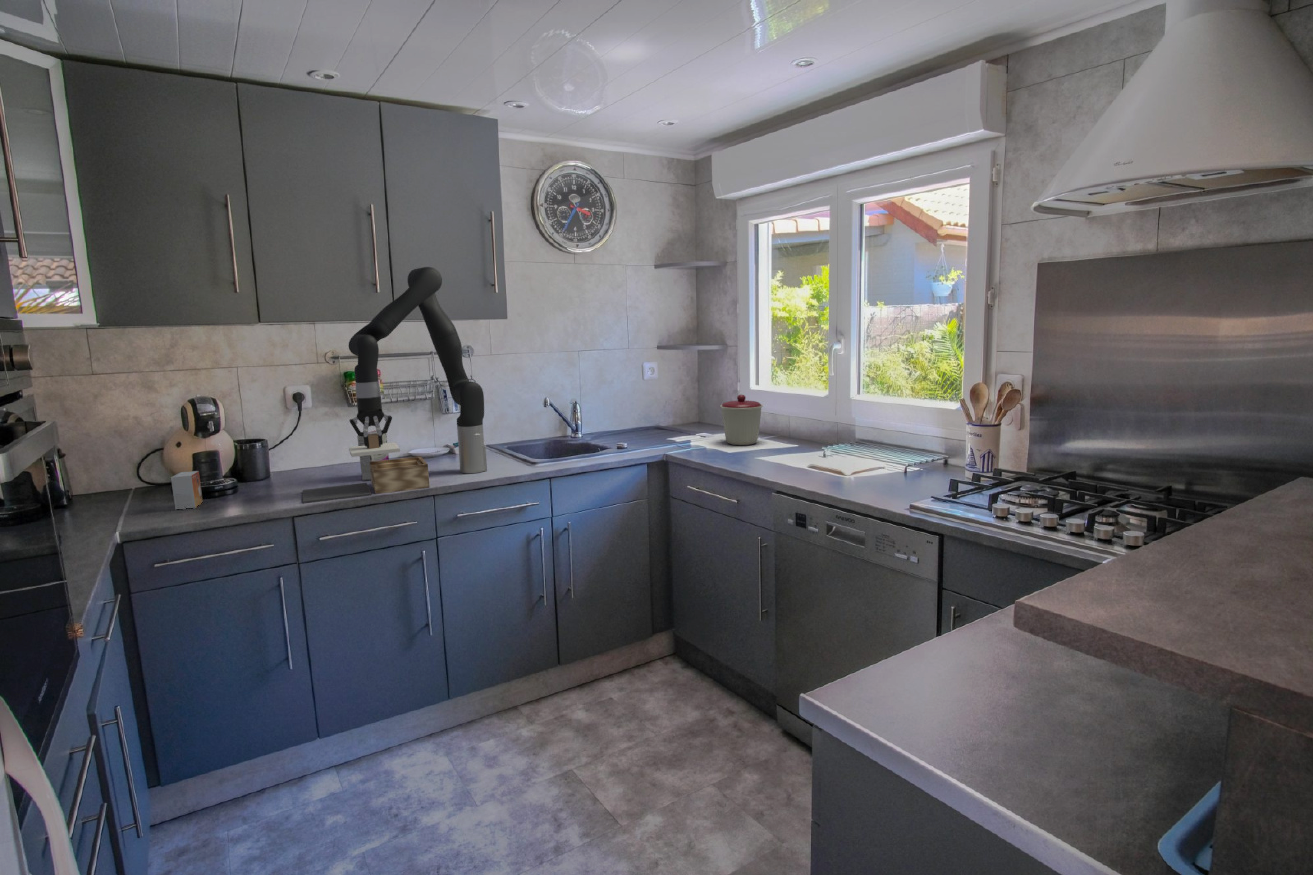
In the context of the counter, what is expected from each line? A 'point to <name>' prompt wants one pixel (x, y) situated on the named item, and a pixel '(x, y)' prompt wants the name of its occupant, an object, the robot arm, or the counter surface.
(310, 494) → the rubber mat
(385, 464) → the wooden box
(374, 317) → the robot arm
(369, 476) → the candy bar box
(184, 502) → the small box
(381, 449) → the cover plate
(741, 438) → the canister
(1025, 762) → the counter surface
